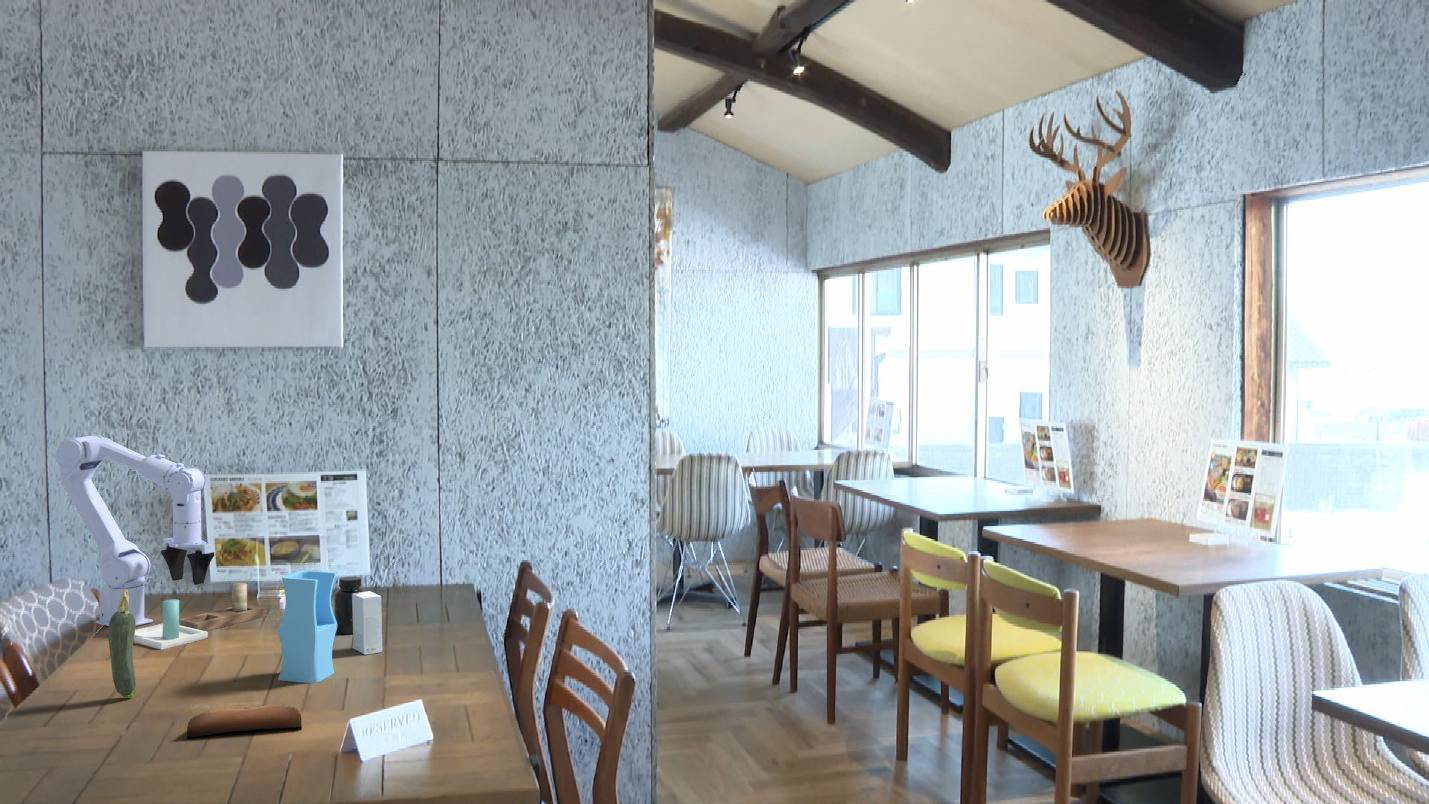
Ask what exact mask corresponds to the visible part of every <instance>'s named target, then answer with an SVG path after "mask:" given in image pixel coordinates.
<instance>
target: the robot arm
mask: <svg viewBox="0 0 1429 804" xmlns="http://www.w3.org/2000/svg"><path fill="white" fill-rule="evenodd" d="M54 458H55V460H56V462H57V464H58V465H59V472H60V481H61V484H62V486H63V488H64V490H65V491H66V493H67V496H68V497H69V498H70V500H71V502H72V504H73V505H74V508H75V510H76V511H77V512H78V514H79V516H80V518H81V519H82V521H83V523H84V524H85V526H86V527H87V530H88V531H89V533H90V534H91V536H92V538H93V540H94V542H95V544H96V545H97V547H98V549H99V551H100V553H99V556H98V559H97V563H98V565H99V567H100V573H101V574H100V576H101V578H102V580H103V581H104V583H105V585H104V586H103V587H102V589H101V590H100V592H99V596H98V597H99V599H98V600H99V620H96V621H95V624H99V625H103V626H107V627H109V622H110V619H111V617H112V616H113V615H114V614H115V613H116V612H117V611H118V609H117V607H118V604H119V601H120V599H121V595H122V593H123V592H124V589H126V590H128V595H129V608H128V610H127V611H129V612H130V613H131V614H132V615H133V616H134V618H135V621H136V626H142V625H145V624H149V623H153V622H154V620H153V619H150V618H146V617H145V582H146V576H148V575H149V573H150V571H151V566H152V564H151V560H150V559H149V557H148V556H147V555H146V554H145V553H144V552H142V551H141V550H140V549H139V548H138V546H137V544H135V543H133V542H131V541H130V540H127V539H126V538H125V536H124V534H123V532H122V531H121V529H120V527H119V525H118V524H117V522H116V520H115V519H114V517H113V515H112V514H111V512H110V510H109V508H108V506H107V505H106V503H105V501H104V499H103V498H102V496H101V495H100V493H99V491H98V490H97V488H96V486H95V484H94V482H93V477H94V474H95V472H96V470H97V469H98V468H99V467H100V465H101V464H102V462H103V461H104V460H107V461H110V462H113V463H117V464H118V465H119V464H120V465H122V466H125V467H128V468H131V469H133V470H136V471H138V472H139V473H140V476H141V478H143V479H144V480H147V481H149V482H151V483H154V484H156V485H159V486H161V487H164V488H167V490H168V491H169V493H170V494H171V498H172V499H171V500H172V525H173V526H172V527H173V529H172V531H173V532H172V533H173V537H166V538H163V539H162V540H163V546H162V547H163V548H165V549H162V550H161V551H160V554H161V556H162V557H163V558H164V560H165V563H166V564H167V567H168V570H169V574H170V578H171V580H172V581H174V582H175V581H180V580H183V577H184V566H185V560H186V557H187V559H188V561H189V564H190V568H191V575H192V582H193V585H195V586H198V585H202V584H204V583H205V580H206V578H207V577H206V576H207V573H208V569H209V566H210V564H211V562H212V560H213V558H214V557H215V552H214V551H213V544H212V543H209V542H206V541H204V540H203V539H202V490H203V489H204V487H205V486H206V482H207V480H206V479H207V478H206V476H205V473H204V472H203V471H202V470H201V469H199V468H198V467H197V466H189V467H186V466H185V464H184V463H181V462H178V463H176V462H174V461H172V460H169V459H166V455H164V454H162V453H160V454H152V455H149V456H145V455H144V454H143V455H142V454H141V453H139V452H136V451H134V450H132V449H130V448H127V447H126V446H124V445H121V444H120V443H117V442H115V441H113V440H112V439H110V438H108V437H103V436H102V435H100V434H89V435H86V436H79V437H78V436H77V437H67V438H64V439H63V440H61V441H60V442H59V444H58V446H57V449H56V451H55V453H54ZM188 551H191V552H192V553H188Z"/></svg>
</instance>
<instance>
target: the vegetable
mask: <svg viewBox="0 0 1429 804" xmlns="http://www.w3.org/2000/svg"><path fill="white" fill-rule="evenodd" d="M128 608H129V595H128V590H126V589H124V592H123V593H122V595H121V599H120V601H119V604H118V607H117V609H118V611H117V612H116V613H115V614H114V615H113V616H112V617H111V619H110V622H109V626H108V633H107V634H108V646H109V655H110V664H111V666H110V667H111V674H112V680H113V681H112V682H113V686H114V688H115V691H116V692H117V694H120V695H121V696H122V698H123V699H125V700H126V699H129V698H130V699H132V698H133V695H135V694H136V689H135V688H136V673H135V672H136V671H135V665H134V659H133V657H134V656H133V648H134V647H133V646H134V643H133V640H134V634H135V630H136V621H135V618H134V616H133V615H132V614H131V613H130V612H129V611H127V610H128Z"/></svg>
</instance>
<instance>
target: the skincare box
mask: <svg viewBox="0 0 1429 804" xmlns="http://www.w3.org/2000/svg"><path fill="white" fill-rule="evenodd" d="M352 608H353V634H352V636H353V638H352V639H353V650H355V651H358V652H359V653H361V654H363V655H372V654H378V653H382V652H383V628H382V626H383V625H382V623H383V621H382V619H383V616H382V596H381V595H379V594H377V593H375V592H373V591H370V590H369V591H364V592H360V593H354V594H352Z"/></svg>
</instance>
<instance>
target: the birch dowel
mask: <svg viewBox="0 0 1429 804" xmlns="http://www.w3.org/2000/svg"><path fill="white" fill-rule="evenodd" d="M247 604H248V583H246V582H236V583H232V584H231V607H232V612H236V613H239V612H244V611H247Z"/></svg>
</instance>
